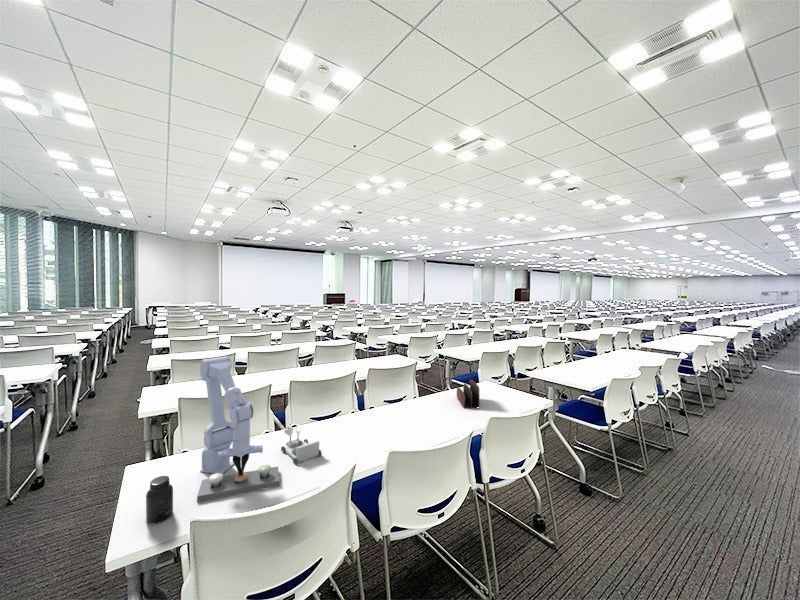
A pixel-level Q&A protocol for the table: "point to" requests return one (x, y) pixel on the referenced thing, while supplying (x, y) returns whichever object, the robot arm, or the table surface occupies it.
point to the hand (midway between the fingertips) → (240, 474)
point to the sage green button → (264, 470)
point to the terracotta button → (240, 477)
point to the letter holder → (469, 395)
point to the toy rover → (300, 448)
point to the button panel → (238, 485)
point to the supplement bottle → (159, 500)
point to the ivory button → (216, 479)
